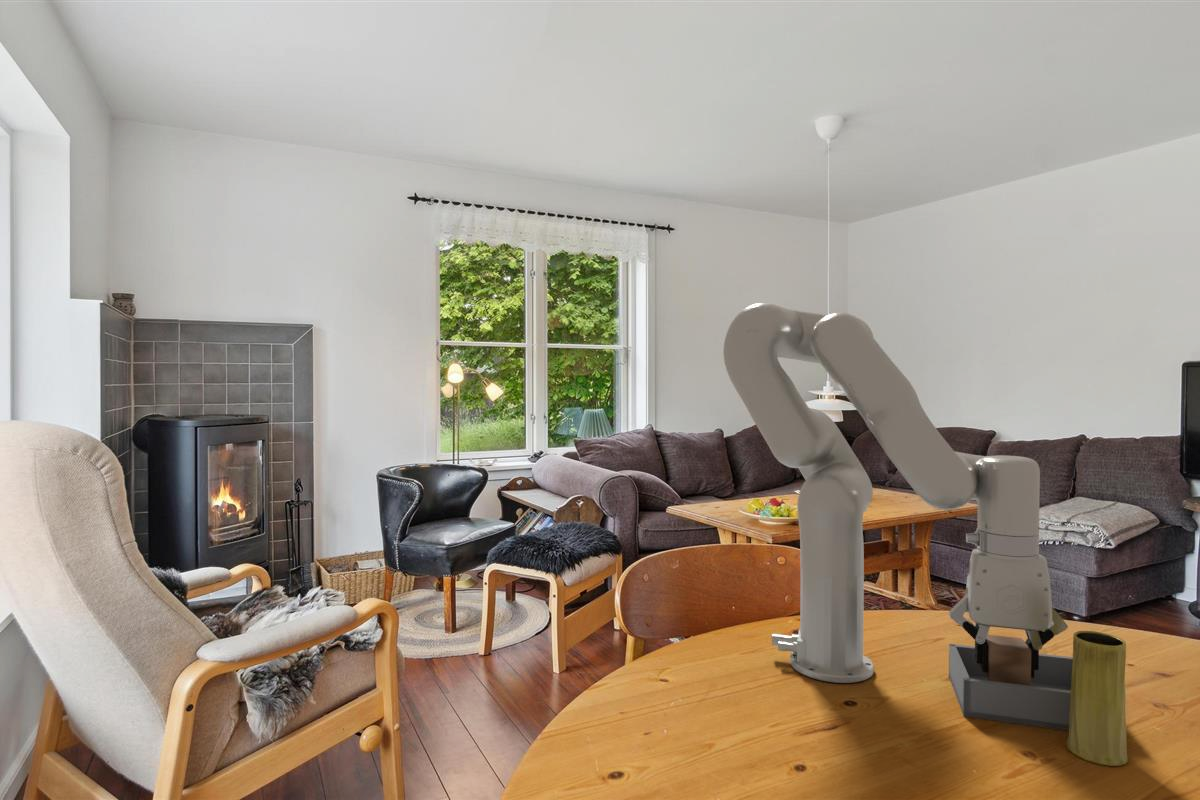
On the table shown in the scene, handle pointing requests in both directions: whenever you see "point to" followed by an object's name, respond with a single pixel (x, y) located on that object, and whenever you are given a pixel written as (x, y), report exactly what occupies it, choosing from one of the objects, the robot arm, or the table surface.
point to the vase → (1098, 699)
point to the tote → (1013, 691)
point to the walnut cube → (1008, 660)
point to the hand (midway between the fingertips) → (1005, 670)
